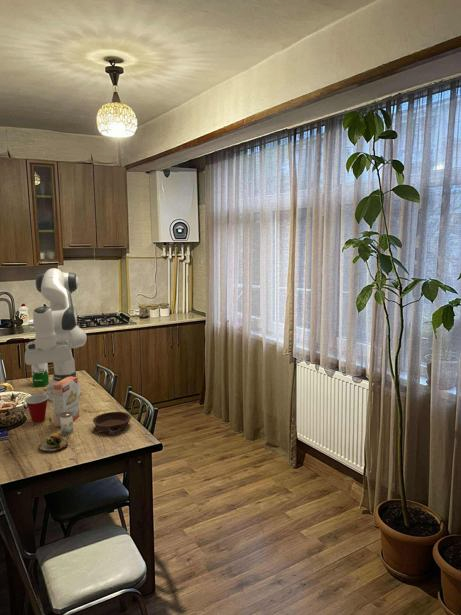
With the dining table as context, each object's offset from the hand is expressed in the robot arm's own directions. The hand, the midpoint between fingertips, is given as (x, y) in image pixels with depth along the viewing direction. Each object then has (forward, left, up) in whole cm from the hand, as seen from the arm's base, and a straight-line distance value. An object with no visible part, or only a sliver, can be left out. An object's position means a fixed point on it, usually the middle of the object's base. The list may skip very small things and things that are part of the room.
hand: (50, 371), depth 211 cm
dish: (+18, +19, -29) cm, 39 cm away
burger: (+17, -9, -29) cm, 35 cm away
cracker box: (-5, +9, -29) cm, 31 cm away
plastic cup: (-17, 0, -29) cm, 34 cm away
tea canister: (+7, +2, -29) cm, 29 cm away
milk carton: (-72, +29, -29) cm, 83 cm away
